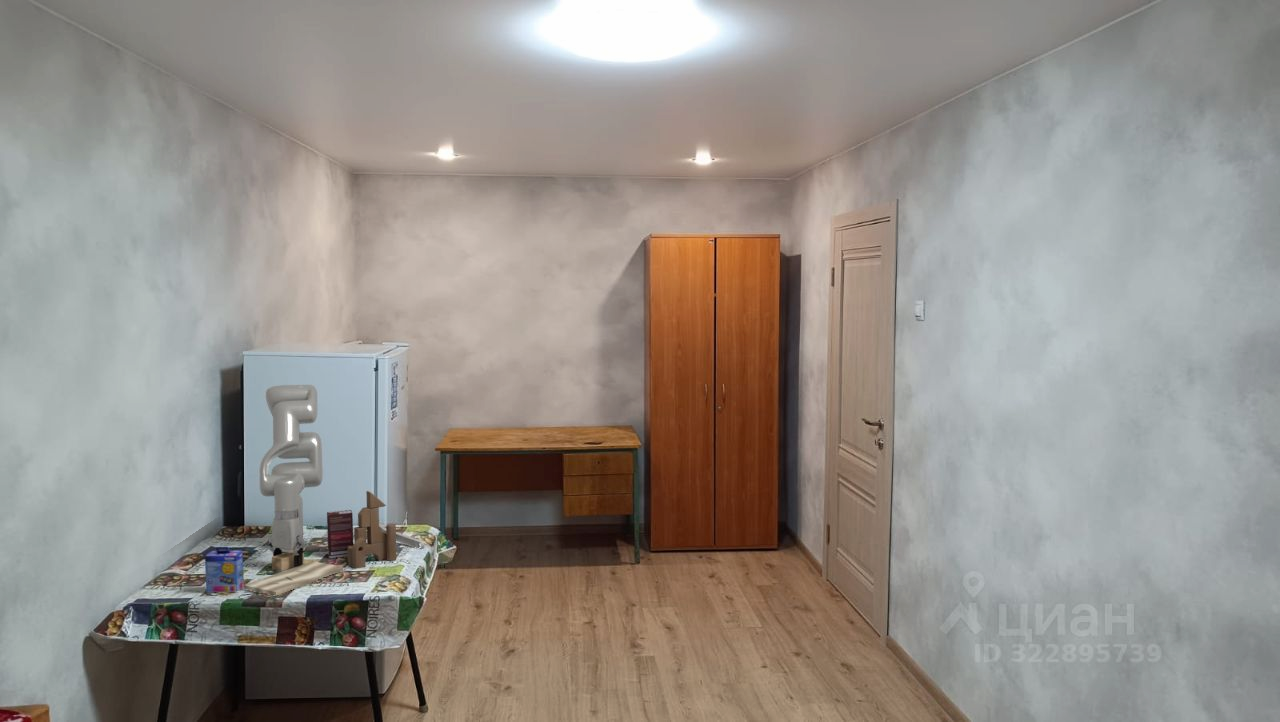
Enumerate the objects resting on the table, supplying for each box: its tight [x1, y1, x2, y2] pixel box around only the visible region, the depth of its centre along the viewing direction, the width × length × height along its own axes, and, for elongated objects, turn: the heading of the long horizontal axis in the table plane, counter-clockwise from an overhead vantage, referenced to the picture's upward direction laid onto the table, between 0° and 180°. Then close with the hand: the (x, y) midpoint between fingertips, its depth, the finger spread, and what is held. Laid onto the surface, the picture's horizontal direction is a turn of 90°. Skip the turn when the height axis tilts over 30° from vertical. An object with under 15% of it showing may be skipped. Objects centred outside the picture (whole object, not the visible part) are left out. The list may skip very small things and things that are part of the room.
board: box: [243, 560, 344, 597], centre depth 284 cm, size 14×28×2 cm, turn 154°
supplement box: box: [326, 509, 354, 559], centre depth 310 cm, size 9×5×16 cm, turn 113°
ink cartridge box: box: [204, 546, 245, 594], centre depth 273 cm, size 10×6×14 cm, turn 95°
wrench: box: [379, 522, 426, 550], centre depth 327 cm, size 8×2×30 cm
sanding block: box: [271, 551, 305, 573], centre depth 296 cm, size 5×9×5 cm, turn 150°
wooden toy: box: [347, 490, 397, 569], centre depth 302 cm, size 15×7×25 cm, turn 132°
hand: (288, 563), depth 296 cm, fingers open, 9 cm apart
